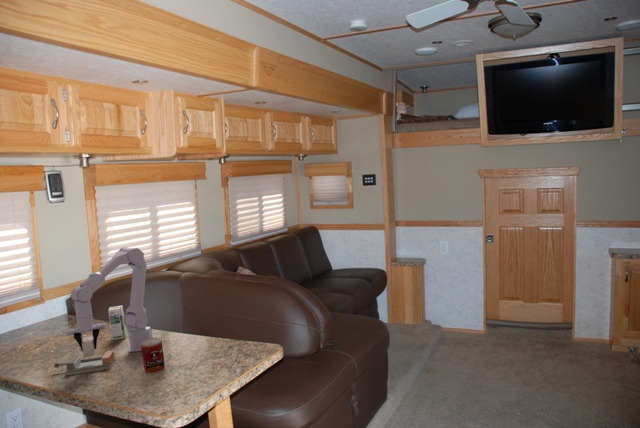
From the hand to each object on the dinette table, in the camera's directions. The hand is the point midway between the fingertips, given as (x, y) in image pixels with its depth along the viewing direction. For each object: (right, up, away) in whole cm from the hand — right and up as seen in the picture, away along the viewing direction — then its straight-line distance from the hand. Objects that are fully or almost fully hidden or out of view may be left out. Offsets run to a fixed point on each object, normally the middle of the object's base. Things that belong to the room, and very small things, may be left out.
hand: (89, 349), depth 201 cm
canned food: (+28, -6, -6) cm, 30 cm away
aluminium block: (0, -2, 0) cm, 2 cm away
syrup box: (-1, -4, +34) cm, 34 cm away
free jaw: (+7, -5, +2) cm, 9 cm away
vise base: (-2, -8, 0) cm, 8 cm away
